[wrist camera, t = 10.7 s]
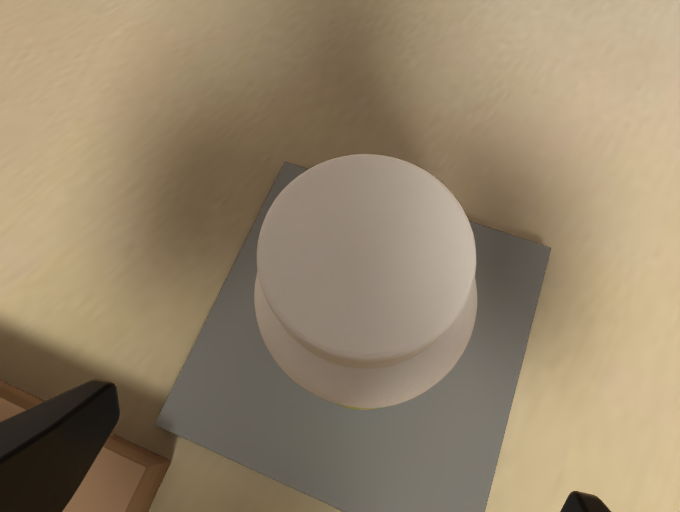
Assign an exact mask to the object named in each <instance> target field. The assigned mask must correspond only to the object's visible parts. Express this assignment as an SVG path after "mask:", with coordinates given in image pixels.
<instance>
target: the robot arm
mask: <svg viewBox="0 0 680 512" xmlns="http://www.w3.org/2000/svg"><path fill="white" fill-rule="evenodd" d="M118 419H119V404H118V396H117V389H116V386H115V385H114V383H112V382H108V381H103V380H99V379H94V380H91V381H89V382H86V383H84V384H82V385H80V386H78V387H75V388H73V389H71V390H69V391H67V392H64V393H62V394H60V395H58V396H56V397H54V398H51V399H49V400H47V401H45V402H43V403H40V404H38V405H36V406H34V407H32V408H29V409H27V410H25V411H23V412H21V413H19V414H16V415H14V416H12V417H10V418H8V419H5V420H3V421H1V422H0V512H62V511H63V510H64V509H65V507H66V506H67V504H68V503H69V501H70V500H71V499H72V497H73V496H74V494H75V492H76V491H77V489H78V488H79V486H80V485H81V483H82V481H83V480H84V478H85V476H86V474H87V473H88V471H89V469H90V468H91V466H92V464H93V463H94V461H95V459H96V458H97V456H98V454H99V453H100V451H101V449H102V448H103V446H104V444H105V443H106V441H107V439H108V438H109V436H110V434H111V433H112V431H113V429H114V427H115V426H116V424H117V422H118ZM560 512H611V511H610V510H609V509H608V507H607V506H606V505H605V504H604V503H603V502H602V501H601V500H600V499H599V498H598V497H597V496H595V495H591V494H587V493H583V492H579V491H573V492H571V493H570V494H569V496H568V498H567V500H566V502H565V504H564V506H563V508H562V509H561V511H560Z"/></svg>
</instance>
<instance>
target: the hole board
mask: <svg viewBox="0 0 680 512" xmlns="http://www.w3.org/2000/svg"><path fill="white" fill-rule="evenodd" d="M43 402H44V401H42V400H40V399H38V398H36V397H34V396H32V395H30V394H28V393H25V392H23V391H21V390H19V389H17V388H15V387H13V386H11V385H8V384H6V383H4V382H2V381H0V422H1V421H3V420H5V419H8V418H10V417H12V416H14V415H16V414H19V413H21V412H23V411H25V410H27V409H29V408H32V407H34V406H36V405H38V404H40V403H43ZM170 463H171V461H169V460H167V459H165V458H163V457H161V456H159V455H157V454H155V453H152V452H150V451H148V450H146V449H144V448H142V447H140V446H138V445H136V444H133V443H131V442H129V441H127V440H125V439H123V438H121V437H119V436H116V435H114V434H112V433H111V434H110V436H109V438H108V439H107V441H106V443H105V444H104V446H103V448H102V449H101V451H100V453H99V454H98V456H97V458H96V459H95V461H94V463H93V464H92V466H91V468H90V469H89V471H88V473H87V474H86V476H85V478H84V480H83V481H82V483H81V485H80V486H79V488H78V489H77V491H76V492H75V494H74V496H73V497H72V499H71V500H70V501H69V503H68V504H67V506H66V507H65V509H64V510H63V511H62V512H148V509H149V507H150V505H151V503H152V501H153V499H154V497H155V495H156V493H157V490H158V488H159V486H160V484H161V482H162V480H163V478H164V476H165V473H166V471H167V469H168V467H169V465H170Z"/></svg>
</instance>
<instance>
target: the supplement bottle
mask: <svg viewBox="0 0 680 512" xmlns="http://www.w3.org/2000/svg"><path fill="white" fill-rule="evenodd" d="M257 270H258V271H257V276H256V281H255V290H254V304H255V313H256V319H257V323H258V327H259V330H260V333H261V336H262V338H263V341H264V343H265V345H266V346H267V348H268V350H269V352H270V354H271V355H272V357H273V358H274V360H275V361H276V363H277V364H278V365H279V366H280V368H281V369H282V370H283V371H284V372H285V373H286V374H287V375H288V376H289V377H290V378H291V379H292V380H293V381H294V382H295V383H296V384H298V385H299V386H301V387H302V388H303V389H305V390H307V391H308V392H310V393H312V394H314V395H316V396H317V397H319V398H322V399H324V400H326V401H329V402H332V403H335V404H337V405H340V406H343V407H347V408H351V409H360V410H369V409H376V408H384V407H389V406H394V405H397V404H399V403H402V402H405V401H408V400H410V399H412V398H415V397H417V396H419V395H421V394H422V393H424V392H426V391H427V390H429V389H430V388H431V387H433V386H434V385H435V384H437V383H438V382H439V381H440V380H442V379H443V378H444V377H445V376H446V375H447V374H448V373H449V372H450V371H451V369H452V368H453V367H454V366H455V364H456V363H457V362H458V360H459V358H460V357H461V355H462V354H463V352H464V350H465V348H466V346H467V344H468V342H469V339H470V337H471V334H472V331H473V327H474V324H475V319H476V312H477V287H476V280H475V271H476V247H475V240H474V235H473V231H472V229H471V226H470V223H469V221H468V218H467V216H466V214H465V212H464V210H463V208H462V206H461V205H460V203H459V202H458V201H457V199H456V198H455V196H454V195H453V194H452V193H451V192H450V190H449V189H448V188H447V187H446V186H445V185H444V184H442V183H441V182H440V181H439V180H438V179H437V178H435V177H434V176H433V175H432V174H430V173H429V172H427V171H425V170H423V169H422V168H420V167H418V166H416V165H414V164H412V163H410V162H407V161H404V160H401V159H397V158H394V157H389V156H384V155H377V154H356V155H347V156H342V157H338V158H334V159H330V160H328V161H325V162H322V163H320V164H317V165H315V166H314V167H312V168H310V169H308V170H307V171H305V172H304V173H302V174H300V175H299V176H298V177H296V178H295V179H294V180H293V181H291V182H290V183H289V184H288V185H287V186H286V187H285V188H284V189H283V190H282V191H281V193H280V194H279V195H278V196H277V198H276V199H275V200H274V202H273V204H272V205H271V207H270V208H269V210H268V212H267V214H266V217H265V219H264V222H263V224H262V227H261V230H260V234H259V239H258V245H257Z"/></svg>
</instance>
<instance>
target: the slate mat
mask: <svg viewBox="0 0 680 512" xmlns="http://www.w3.org/2000/svg"><path fill="white" fill-rule="evenodd" d="M307 170H308V169H306V168H303V167H300V166H297V165H294V164H291V163H288V162H284V164H283V166H282V168H281V170H280V172H279V174H278V176H277V178H276V180H275V182H274V184H273V186H272V188H271V190H270V192H269V194H268V196H267V199H266V201H265V203H264V205H263V207H262V209H261V211H260V213H259V215H258V217H257V219H256V221H255V223H254V225H253V227H252V229H251V231H250V233H249V235H248V237H247V239H246V241H245V243H244V245H243V247H242V249H241V251H240V253H239V255H238V257H237V259H236V261H235V263H234V265H233V267H232V269H231V271H230V273H229V275H228V277H227V279H226V281H225V283H224V285H223V287H222V289H221V291H220V293H219V295H218V297H217V299H216V301H215V303H214V305H213V307H212V309H211V311H210V313H209V315H208V317H207V319H206V321H205V323H204V325H203V327H202V329H201V331H200V334H199V336H198V338H197V340H196V342H195V344H194V346H193V348H192V350H191V352H190V354H189V356H188V358H187V360H186V362H185V364H184V366H183V368H182V370H181V372H180V374H179V376H178V378H177V380H176V382H175V384H174V386H173V388H172V390H171V392H170V394H169V396H168V398H167V400H166V402H165V404H164V406H163V408H162V410H161V412H160V414H159V416H158V418H157V420H156V422H155V424H154V425H156V426H159V427H161V428H163V429H165V430H167V431H169V432H172V433H174V434H176V435H178V436H180V437H183V438H185V439H187V440H189V441H191V442H193V443H196V444H198V445H200V446H202V447H204V448H206V449H209V450H211V451H213V452H215V453H217V454H220V455H222V456H224V457H226V458H228V459H230V460H233V461H235V462H237V463H239V464H241V465H243V466H246V467H248V468H250V469H252V470H254V471H257V472H259V473H261V474H263V475H265V476H267V477H270V478H272V479H274V480H276V481H278V482H280V483H283V484H285V485H287V486H289V487H291V488H294V489H296V490H298V491H300V492H302V493H304V494H307V495H309V496H311V497H313V498H315V499H317V500H320V501H322V502H324V503H326V504H328V505H331V506H333V507H335V508H337V509H339V510H341V511H344V512H485V509H486V505H487V501H488V497H489V493H490V489H491V485H492V481H493V477H494V473H495V469H496V465H497V461H498V457H499V453H500V449H501V445H502V441H503V437H504V433H505V429H506V426H507V422H508V418H509V414H510V410H511V406H512V402H513V398H514V394H515V390H516V386H517V382H518V378H519V374H520V370H521V366H522V362H523V358H524V354H525V350H526V346H527V342H528V338H529V334H530V330H531V326H532V322H533V318H534V314H535V310H536V306H537V302H538V298H539V294H540V290H541V286H542V282H543V278H544V274H545V270H546V266H547V262H548V258H549V254H550V250H551V247H547V246H544V245H541V244H538V243H535V242H532V241H529V240H526V239H523V238H520V237H517V236H513V235H510V234H507V233H504V232H501V231H498V230H495V229H492V228H489V227H486V226H483V225H479V224H476V223H473V222H470V221H469V223H470V226H471V229H472V231H473V235H474V240H475V247H476V271H475V280H476V287H477V312H476V319H475V324H474V327H473V331H472V334H471V337H470V339H469V342H468V344H467V346H466V348H465V350H464V352H463V354H462V355H461V357H460V358H459V360H458V362H457V363H456V364H455V366H454V367H453V368H452V369H451V371H450V372H449V373H448V374H447V375H446V376H445V377H444V378H443V379H442V380H440V381H439V382H438V383H437V384H435V385H434V386H433V387H431V388H430V389H429V390H427V391H426V392H424V393H422V394H421V395H419V396H417V397H415V398H412V399H410V400H408V401H405V402H402V403H399V404H397V405H394V406H389V407H384V408H376V409H369V410H360V409H351V408H347V407H343V406H340V405H337V404H335V403H332V402H329V401H326V400H324V399H322V398H319V397H317V396H316V395H314V394H312V393H310V392H308V391H307V390H305V389H303V388H302V387H301V386H299V385H298V384H296V383H295V382H294V381H293V380H292V379H291V378H290V377H289V376H288V375H287V374H286V373H285V372H284V371H283V370H282V369H281V368H280V366H279V365H278V364H277V363H276V361H275V360H274V358H273V357H272V355H271V354H270V352H269V350H268V348H267V346H266V345H265V343H264V341H263V338H262V336H261V333H260V330H259V327H258V323H257V319H256V313H255V304H254V290H255V281H256V276H257V271H258V270H257V245H258V239H259V234H260V230H261V227H262V224H263V222H264V219H265V217H266V214H267V212H268V210H269V208H270V207H271V205H272V204H273V202H274V200H275V199H276V198H277V196H278V195H279V194H280V193H281V191H282V190H283V189H284V188H285V187H286V186H287V185H288V184H289V183H290V182H291V181H293V180H294V179H295V178H296V177H298V176H299V175H300V174H302V173H304V172H305V171H307Z"/></svg>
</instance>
